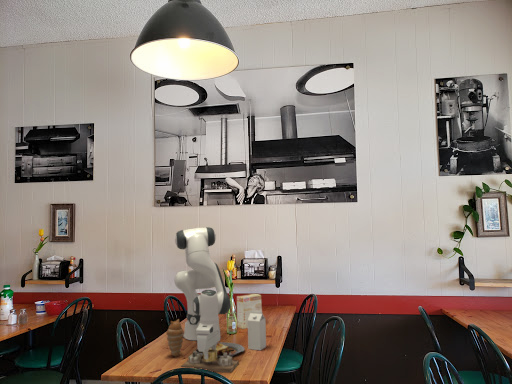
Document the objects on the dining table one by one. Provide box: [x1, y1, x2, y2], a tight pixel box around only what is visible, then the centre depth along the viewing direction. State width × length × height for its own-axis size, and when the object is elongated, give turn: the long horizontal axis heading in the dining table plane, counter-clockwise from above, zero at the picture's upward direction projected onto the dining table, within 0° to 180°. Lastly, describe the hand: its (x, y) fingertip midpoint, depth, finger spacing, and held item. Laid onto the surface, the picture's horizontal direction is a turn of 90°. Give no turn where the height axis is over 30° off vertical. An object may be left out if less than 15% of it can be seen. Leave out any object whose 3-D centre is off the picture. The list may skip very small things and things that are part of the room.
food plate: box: [195, 341, 246, 358], centre depth 218 cm, size 25×23×4 cm
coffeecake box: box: [236, 293, 263, 330], centre depth 273 cm, size 15×7×20 cm, turn 122°
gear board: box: [180, 350, 240, 374], centre depth 197 cm, size 12×24×6 cm, turn 75°
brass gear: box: [202, 349, 218, 362], centre depth 197 cm, size 7×7×4 cm
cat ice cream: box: [166, 318, 184, 357], centre depth 214 cm, size 9×8×18 cm
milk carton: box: [247, 311, 267, 351], centre depth 225 cm, size 7×7×19 cm
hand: (209, 356), depth 197 cm, fingers closed on brass gear, 7 cm apart
